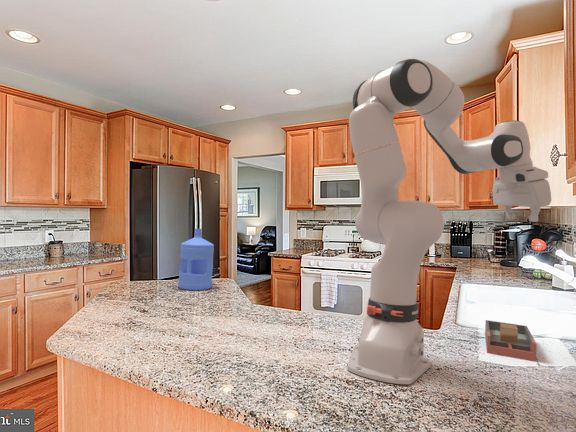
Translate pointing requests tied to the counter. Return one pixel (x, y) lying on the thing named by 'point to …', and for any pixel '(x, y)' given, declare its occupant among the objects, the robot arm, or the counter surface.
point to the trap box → (521, 349)
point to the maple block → (508, 333)
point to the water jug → (196, 263)
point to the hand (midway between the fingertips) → (522, 220)
